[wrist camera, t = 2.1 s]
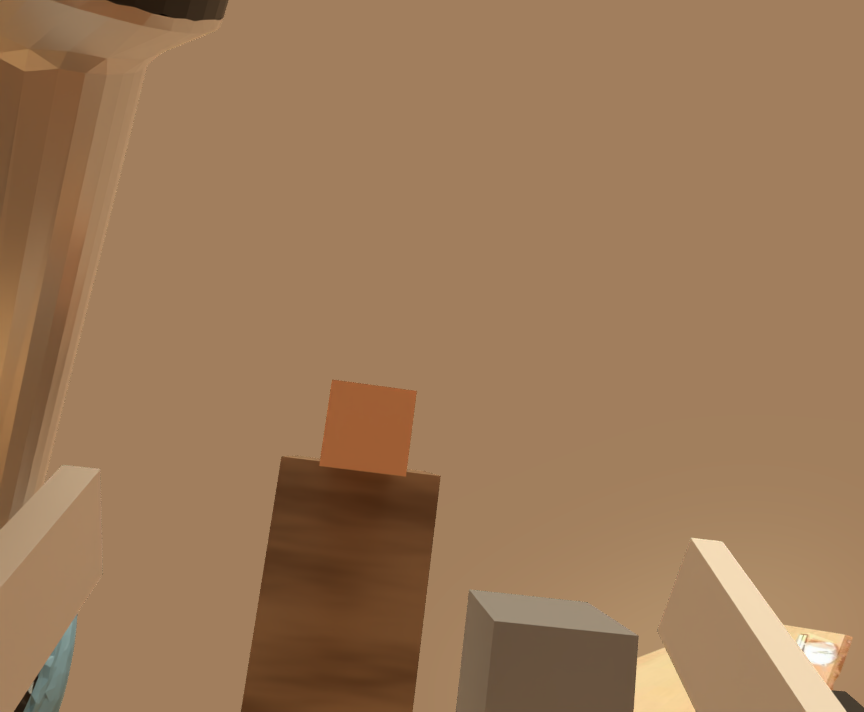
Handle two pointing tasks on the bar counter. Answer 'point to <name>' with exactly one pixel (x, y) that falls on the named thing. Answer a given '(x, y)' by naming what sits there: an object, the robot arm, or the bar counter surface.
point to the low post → (544, 657)
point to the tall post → (342, 591)
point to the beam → (368, 428)
